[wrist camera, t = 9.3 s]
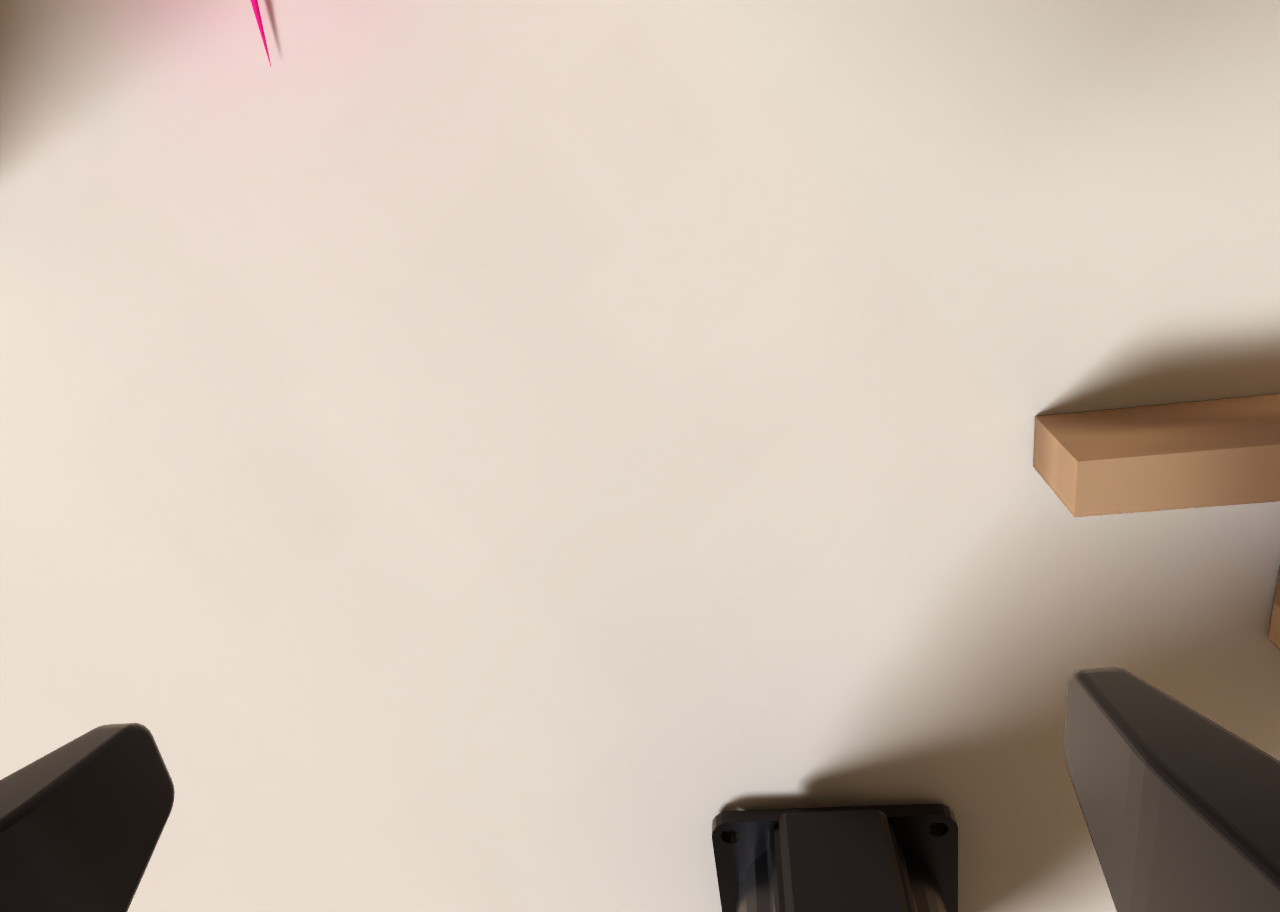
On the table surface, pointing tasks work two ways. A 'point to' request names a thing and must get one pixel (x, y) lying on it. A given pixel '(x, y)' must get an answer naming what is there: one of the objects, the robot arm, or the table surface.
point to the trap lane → (1164, 459)
